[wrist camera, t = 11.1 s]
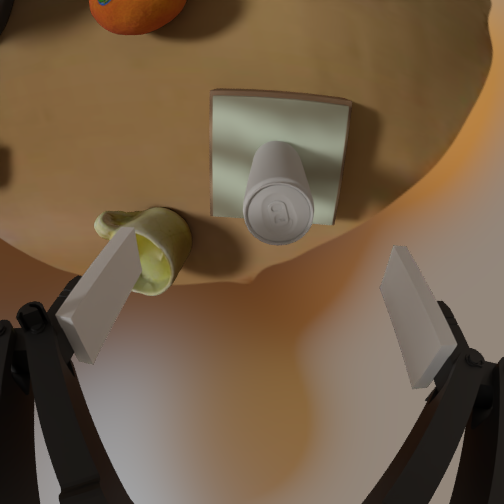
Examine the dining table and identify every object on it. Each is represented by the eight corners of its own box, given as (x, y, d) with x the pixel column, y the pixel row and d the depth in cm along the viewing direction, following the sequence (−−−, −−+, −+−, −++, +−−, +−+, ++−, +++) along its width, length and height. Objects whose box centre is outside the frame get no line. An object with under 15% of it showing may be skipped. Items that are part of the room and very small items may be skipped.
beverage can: (259, 189, 32) (253, 253, 22) (246, 146, 29) (231, 191, 19) (305, 178, 31) (321, 238, 21) (294, 133, 28) (307, 172, 18)
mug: (220, 247, 40) (173, 294, 32) (176, 268, 46) (133, 309, 39) (166, 167, 37) (106, 200, 30) (129, 201, 43) (79, 234, 36)
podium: (217, 88, 31) (207, 91, 27) (344, 98, 30) (354, 102, 26) (216, 201, 39) (208, 219, 34) (329, 210, 38) (335, 229, 34)
